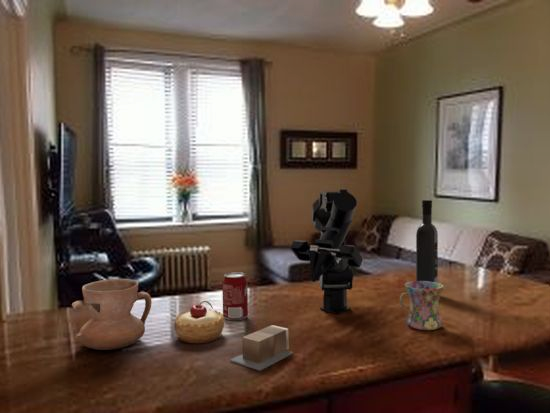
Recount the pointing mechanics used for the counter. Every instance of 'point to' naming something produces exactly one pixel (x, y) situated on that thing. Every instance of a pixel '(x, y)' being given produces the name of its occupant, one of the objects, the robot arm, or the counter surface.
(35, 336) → the counter surface
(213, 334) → the pastry
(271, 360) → the mat
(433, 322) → the mug
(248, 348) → the block
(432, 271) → the wine bottle
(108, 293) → the ceramic jug
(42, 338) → the counter surface
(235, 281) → the soda can
